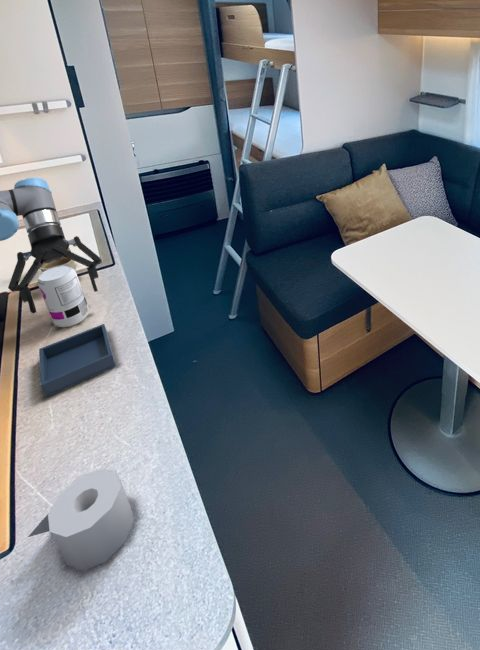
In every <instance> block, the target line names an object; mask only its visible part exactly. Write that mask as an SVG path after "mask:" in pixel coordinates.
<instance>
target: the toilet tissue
mask: <svg viewBox="0 0 480 650" xmlns="http://www.w3.org/2000/svg"><path fill="white" fill-rule="evenodd" d="M134 522H135V517H134V513H133V510H132V506H131V503H130V501H129V498H128V496H127V492H126V490H125V488H124V486H123V483H122V481H121V478H120V475H119V472H118V471H115V470H111V469H107V468H104V467H101V468H98V469H95V470H92V471H89V472H86V473H83V474H81V475H79V476H78V477H77V478H76V479H75V480H74V481H72V482H71V483H69V484H68V485H67V486H66V487H65V488H64V489H63V490H62V491H60V492H59V494H58V496H57V497H56V499H55V501H54V502H53V504H52V506H51V508H50V509H49V511H48V512H47V514H46V515H45V516H44V518H43V519H42V520H41V521H40V522H39V523H38V524H37V526H36V527H35V528H34V529H33V530H32V532H31V533H29V535H28V536H27V537H28V538H29V537H34V536H38V535H41V534H44V533H48V532H49V534H50V535H51V537H52V539H53V541H54V543H55V544H56V546H57V548H58V550H59V552H60V553H61V556H62V557H63V559H64V561H65V563H66V565H67V566H68V567H72V568H74V569H77V570H80V571H83V572H84V571H85V572H86V571H87V570H89V569H92V568H94V567H97V566H98V565H101V564H103V563H106V562H107V561H108V560H109V559H110V558H111V557H112V556H113V555H114V554H115V553H116V552H117V551H118V550H119V549H120V548H121V547H122V546H123V545H124V544H125V543H126V542H127V539H128V537H129V534H130V532H131V530H132V527H133V525H134Z"/></svg>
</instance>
